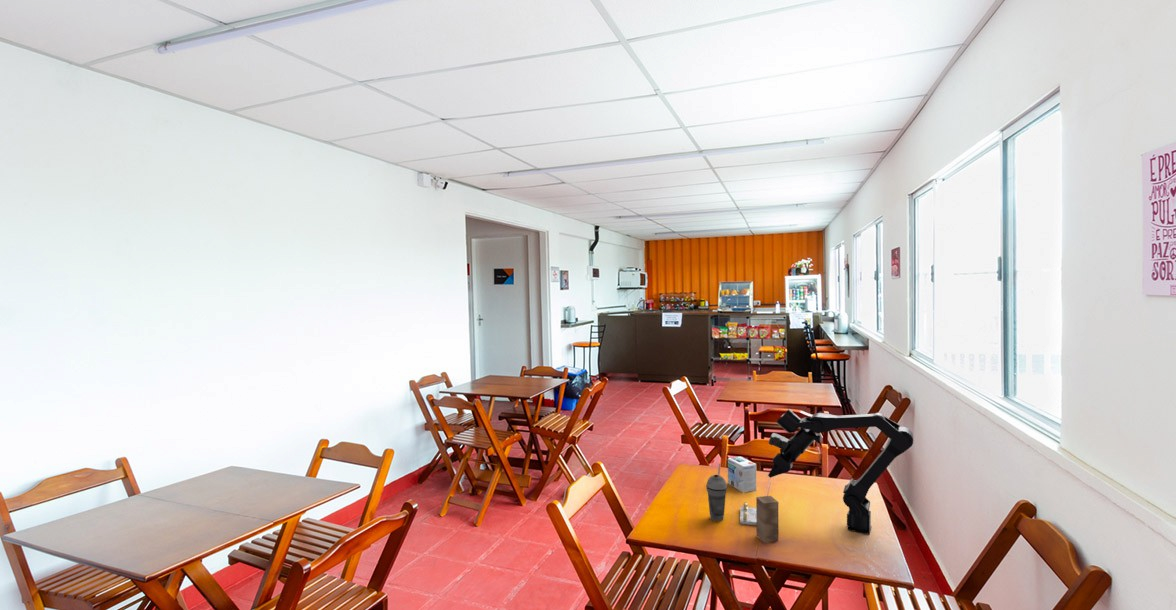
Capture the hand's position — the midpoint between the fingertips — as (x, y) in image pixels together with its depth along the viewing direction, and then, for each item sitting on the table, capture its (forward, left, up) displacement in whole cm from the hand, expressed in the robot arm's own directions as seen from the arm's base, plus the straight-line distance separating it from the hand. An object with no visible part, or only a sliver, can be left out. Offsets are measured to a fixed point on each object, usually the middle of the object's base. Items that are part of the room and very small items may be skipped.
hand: (771, 472), depth 193 cm
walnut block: (-4, +21, -14) cm, 26 cm away
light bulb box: (+17, -17, -15) cm, 28 cm away
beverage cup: (+15, +16, -15) cm, 26 cm away
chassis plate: (+3, +8, -14) cm, 17 cm away
